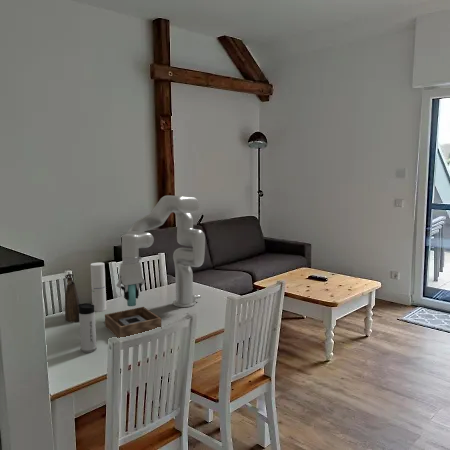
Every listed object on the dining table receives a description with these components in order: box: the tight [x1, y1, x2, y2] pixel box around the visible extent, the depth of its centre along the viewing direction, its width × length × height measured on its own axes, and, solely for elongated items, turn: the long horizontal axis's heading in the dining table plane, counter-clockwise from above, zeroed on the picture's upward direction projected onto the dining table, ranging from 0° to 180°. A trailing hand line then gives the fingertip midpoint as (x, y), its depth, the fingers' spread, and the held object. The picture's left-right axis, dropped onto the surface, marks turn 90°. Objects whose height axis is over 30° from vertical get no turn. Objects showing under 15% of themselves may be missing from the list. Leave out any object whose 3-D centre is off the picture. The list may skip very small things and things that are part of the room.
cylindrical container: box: [90, 261, 107, 313], centre depth 234 cm, size 7×7×25 cm
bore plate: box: [118, 315, 146, 326], centre depth 208 cm, size 10×10×3 cm
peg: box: [126, 284, 137, 307], centre depth 206 cm, size 4×4×10 cm
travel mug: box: [78, 302, 97, 354], centre depth 183 cm, size 6×7×20 cm
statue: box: [64, 271, 80, 323], centre depth 219 cm, size 9×8×25 cm
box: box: [104, 306, 162, 339], centre depth 208 cm, size 20×20×6 cm
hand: (131, 298), depth 206 cm, fingers closed on peg, 4 cm apart
